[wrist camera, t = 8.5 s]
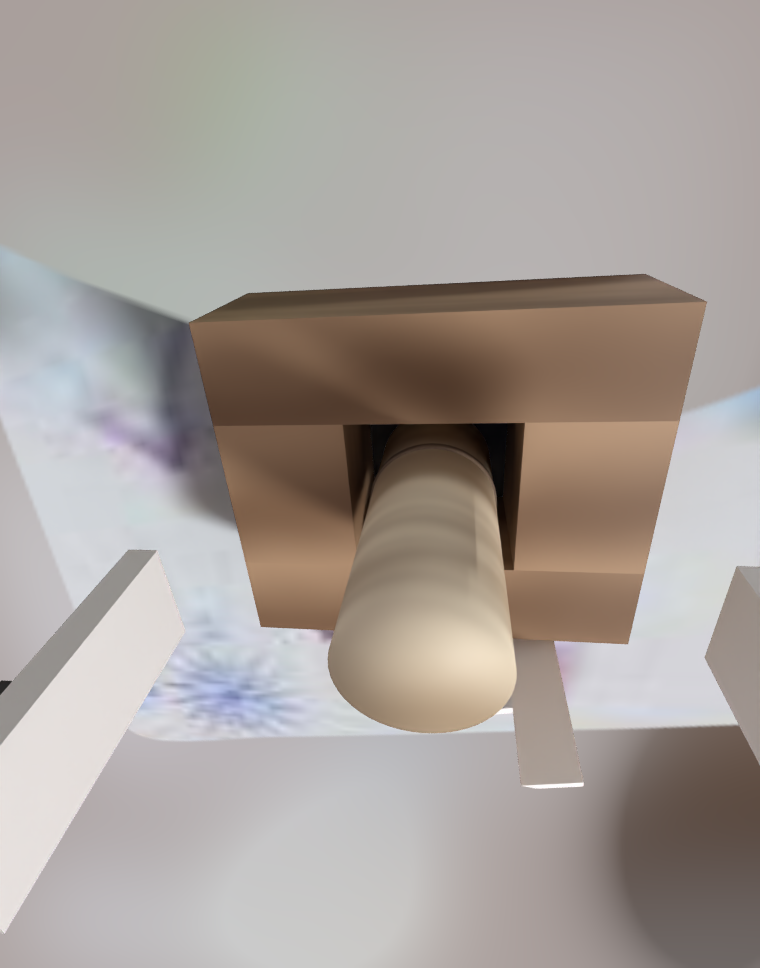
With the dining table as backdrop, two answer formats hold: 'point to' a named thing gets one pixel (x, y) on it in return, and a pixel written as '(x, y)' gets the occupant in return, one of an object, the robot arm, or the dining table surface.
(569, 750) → the white angled block
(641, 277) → the brown thick square frame
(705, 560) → the dining table surface
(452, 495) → the peg
